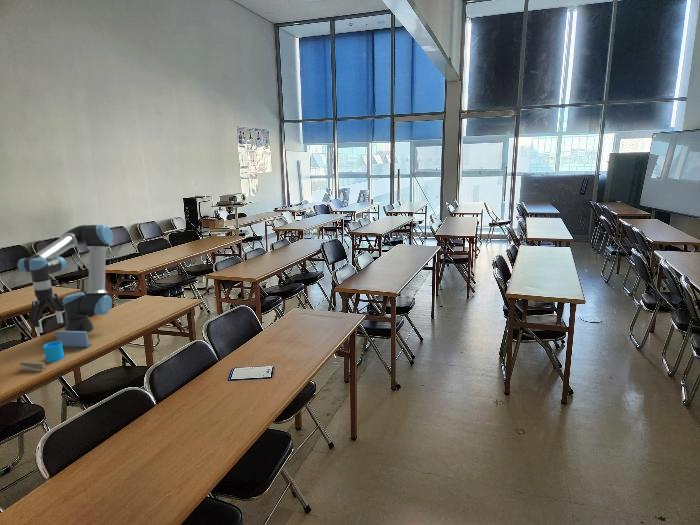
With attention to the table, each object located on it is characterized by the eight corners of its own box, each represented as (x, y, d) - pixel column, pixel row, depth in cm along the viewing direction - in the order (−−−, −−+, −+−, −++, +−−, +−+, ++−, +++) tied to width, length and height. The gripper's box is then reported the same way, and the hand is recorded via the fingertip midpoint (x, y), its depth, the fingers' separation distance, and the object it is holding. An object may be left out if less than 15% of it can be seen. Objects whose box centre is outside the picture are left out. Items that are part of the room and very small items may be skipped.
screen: (63, 344, 254) (60, 329, 252) (92, 345, 252) (89, 330, 250) (58, 346, 251) (55, 331, 249) (87, 347, 248) (84, 332, 246)
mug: (62, 360, 233) (59, 345, 231) (44, 363, 230) (41, 348, 228) (67, 351, 244) (64, 337, 242) (50, 354, 241) (47, 340, 239)
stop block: (24, 368, 225) (23, 361, 224) (46, 369, 223) (44, 361, 222) (21, 370, 223) (19, 362, 222) (42, 371, 221) (41, 363, 221)
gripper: (55, 281, 241) (62, 318, 246) (15, 295, 217) (23, 336, 222) (67, 281, 240) (74, 319, 245) (29, 295, 216) (37, 337, 221)
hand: (50, 327), depth 233 cm, fingers open, 13 cm apart
